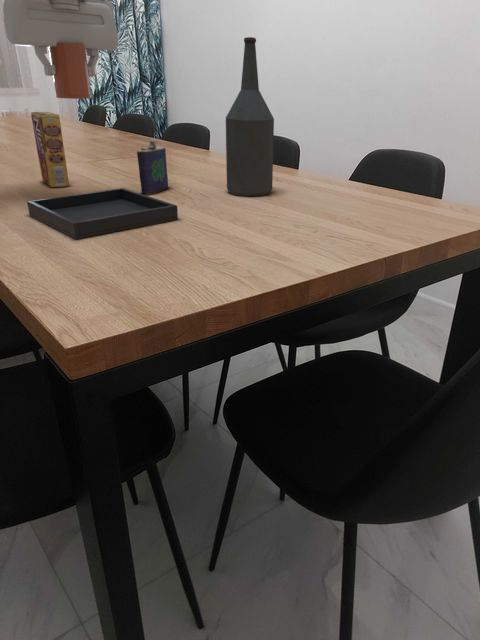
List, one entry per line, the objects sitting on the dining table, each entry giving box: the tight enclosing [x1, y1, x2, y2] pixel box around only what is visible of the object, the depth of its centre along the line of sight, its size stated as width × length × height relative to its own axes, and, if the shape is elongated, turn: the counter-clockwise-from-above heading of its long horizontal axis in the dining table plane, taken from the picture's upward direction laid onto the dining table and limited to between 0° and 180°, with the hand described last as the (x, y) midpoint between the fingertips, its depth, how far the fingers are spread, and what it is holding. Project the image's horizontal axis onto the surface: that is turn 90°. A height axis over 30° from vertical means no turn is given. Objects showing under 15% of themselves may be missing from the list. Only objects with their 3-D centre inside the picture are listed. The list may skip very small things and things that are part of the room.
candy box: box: [30, 111, 70, 188], centre depth 115 cm, size 9×4×15 cm, turn 35°
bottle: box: [225, 36, 275, 197], centre depth 107 cm, size 10×10×30 cm
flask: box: [136, 139, 169, 196], centre depth 111 cm, size 9×3×11 cm, turn 157°
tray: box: [26, 187, 179, 240], centre depth 92 cm, size 20×20×3 cm
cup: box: [48, 43, 92, 100], centre depth 95 cm, size 6×6×9 cm
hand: (70, 76), depth 96 cm, fingers closed on cup, 6 cm apart
